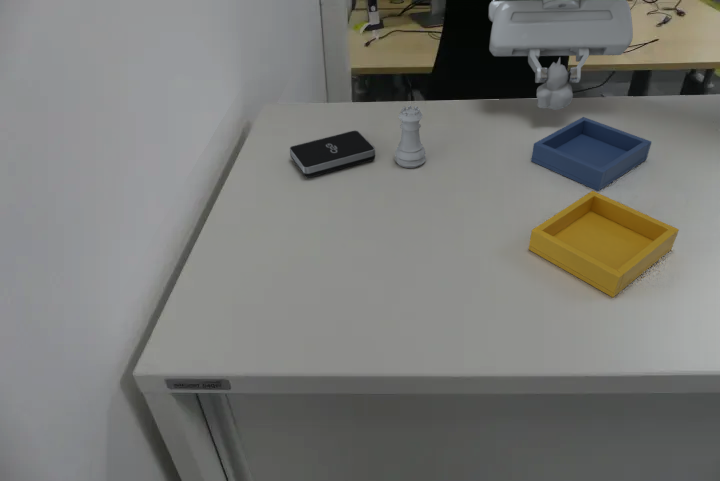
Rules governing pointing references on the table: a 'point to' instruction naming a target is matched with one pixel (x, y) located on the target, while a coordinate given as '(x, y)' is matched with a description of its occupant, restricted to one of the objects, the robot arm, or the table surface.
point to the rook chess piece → (410, 139)
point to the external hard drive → (332, 153)
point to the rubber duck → (555, 88)
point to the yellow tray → (602, 242)
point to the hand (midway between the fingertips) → (557, 81)
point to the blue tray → (590, 152)
